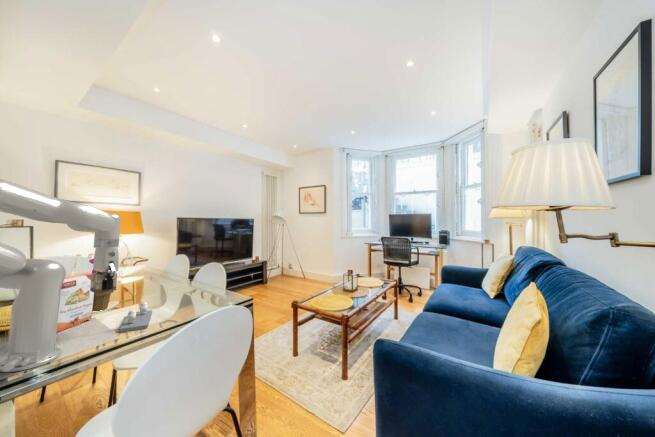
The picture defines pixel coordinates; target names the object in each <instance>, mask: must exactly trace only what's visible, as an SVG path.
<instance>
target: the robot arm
mask: <svg viewBox="0 0 655 437" xmlns="http://www.w3.org/2000/svg"><path fill="white" fill-rule="evenodd" d="M0 212H1V213H6V214H10V215H14V216H18V217H22V218H25V219H29V220H32V221H37V222H43V223H51V224H64V225H67V227H68V228H69V229H71V230H73V231H76V232H84V233H85V232H87V233H94V235H93V236H94V237H93V248H95V250H94V256H93V259H94V263H93V265H92V266H93V268H92V270H93V269H94V270H95V273H99V272H102V273H103V275H104V280H103V283H102V290H108V289H112V288H113V279H114V275H115V273H117V272H118V271H119V264H120V262H119V260H120V259H119V258H120V257H119V247H120V245H119V244H120V232H121V231H120V230H121V219H122V218H121V216H120V215H119V214H117V213H110V212H107V211H104V210H102V209H99V208H96V207H94V206H90V205H87V204H83V203H79V202H78V203H77V202H74V201H70V200H67V199H64V198H59V197H55V196H52V195H48V194H46V193H43V192H41V191H38V190H35V189H32V188H28V187H27V186H23V185H20V184H17V183H15V182H12V181H9V180H5V179H1V178H0ZM106 271H108V272H106ZM66 273H67V272H66V267H64V265H63V264H61V263H60V262H58V261H56V260H52V259H45V258H43V259H40V258H27V256H26V255H25V253H24V252H23V251H21V250H20V249H19V248H16V247H14V246H11V245H8V244H6V243H3V242H0V288H1V289H7V290H19V292H18V294H17V295H16V297H15V299H14V300H13V303H12V305H11V311H10V324H9V334H8V335H9V336H8V345H7V358H5V359H3V360H2V361H1V362H0V372H1V373H13V372H20V371H26V370H29V369H34V368H37V367H41V366H43V365H45V364H48V363H51V362H52V361H54V360H56V359H57V358H59V357H60V356H61V355H62V353H63V352H62V348H60V347H56V342H57V333H56V331H57V319H58V308H59V297H60V291H61V288H62V285H63V282H64V279H65V276H67V275H66ZM108 273H109V274H108ZM107 274H108V275H107Z"/></svg>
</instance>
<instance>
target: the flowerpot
mask: <svg viewBox="0 0 655 437" xmlns="http://www.w3.org/2000/svg"><path fill="white" fill-rule="evenodd" d="M88 262H89V263H90V264H93V263H94V258H91V259H89V261H88ZM106 272H108V271H106ZM91 273H95V270H94V269H93V268H92V270H91ZM114 291H115V290H114ZM114 291H108V292H102V293H94V297H93V307H92V310H94V311H100V310H103V311H105V309H106V310H107V309H108V306H109V303H110V298H111V294H113V293H114ZM100 312H101V311H100Z"/></svg>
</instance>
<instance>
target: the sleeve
mask: <svg viewBox="0 0 655 437" xmlns="http://www.w3.org/2000/svg"><path fill="white" fill-rule="evenodd" d="M90 273H91V286H90V291H92V292H94V293H102V292H108V291H117V284H118V283H117V282H118V272H116V273H115V275H114V279H113V288H112V289H108V290H102V283H103V280H104V275H103V273H102V272H99V273H92V272H90ZM108 274H109V273H108ZM108 274H107V275H108Z"/></svg>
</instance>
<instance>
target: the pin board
mask: <svg viewBox="0 0 655 437" xmlns="http://www.w3.org/2000/svg"><path fill="white" fill-rule="evenodd" d="M139 306H140V310H139V311H136V309H130V310H129V311H128V313H127V315H126V317H125V319H124V321H123V323H122V324H121V326H120V328H119V333H121V334H122V333H126V332H132V331H138V330H139V329H141V330H146V328H147V329H148V328H149V325H150V321H151V318H152V315H153V310H152V309H151V310H148V302H146V301H143V302H141V304H140V305H139Z"/></svg>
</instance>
